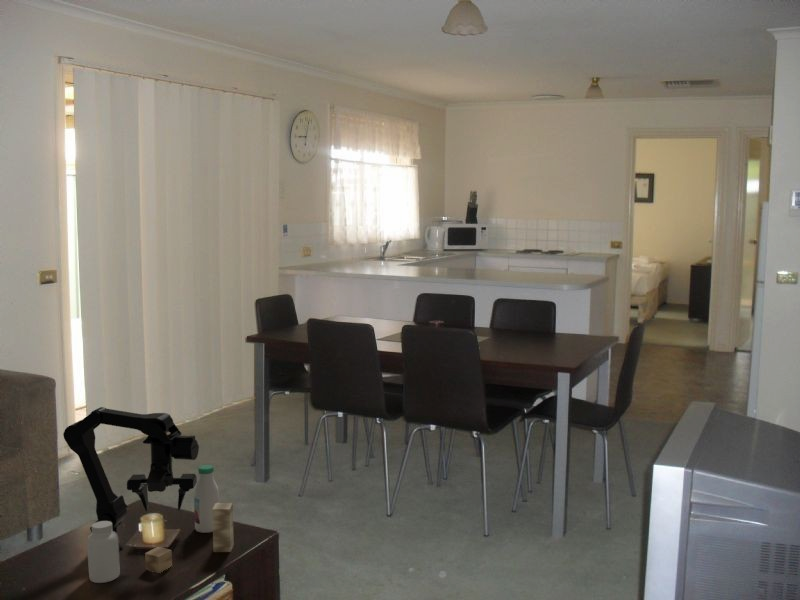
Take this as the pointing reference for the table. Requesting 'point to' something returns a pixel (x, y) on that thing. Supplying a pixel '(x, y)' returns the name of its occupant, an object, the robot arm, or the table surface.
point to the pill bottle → (103, 553)
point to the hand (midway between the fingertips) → (163, 510)
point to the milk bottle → (205, 499)
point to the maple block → (222, 527)
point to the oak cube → (158, 559)
